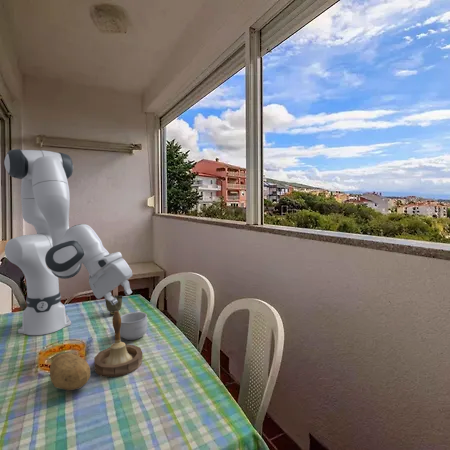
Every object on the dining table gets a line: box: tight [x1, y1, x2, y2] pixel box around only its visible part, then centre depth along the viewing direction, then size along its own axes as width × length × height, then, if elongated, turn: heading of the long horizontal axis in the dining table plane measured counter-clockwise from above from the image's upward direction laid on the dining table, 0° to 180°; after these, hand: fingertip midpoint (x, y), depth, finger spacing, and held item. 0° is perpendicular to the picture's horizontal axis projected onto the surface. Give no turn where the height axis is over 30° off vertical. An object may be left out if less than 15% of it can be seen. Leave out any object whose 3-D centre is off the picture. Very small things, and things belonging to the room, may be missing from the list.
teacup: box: [120, 310, 148, 341], centre depth 116 cm, size 14×11×8 cm
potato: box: [49, 352, 91, 391], centre depth 83 cm, size 10×14×8 cm
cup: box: [104, 294, 123, 316], centre depth 138 cm, size 8×7×8 cm
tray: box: [93, 344, 144, 378], centre depth 94 cm, size 14×14×3 cm
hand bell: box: [105, 310, 133, 365], centre depth 94 cm, size 8×8×16 cm
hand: (122, 299), depth 103 cm, fingers open, 8 cm apart
